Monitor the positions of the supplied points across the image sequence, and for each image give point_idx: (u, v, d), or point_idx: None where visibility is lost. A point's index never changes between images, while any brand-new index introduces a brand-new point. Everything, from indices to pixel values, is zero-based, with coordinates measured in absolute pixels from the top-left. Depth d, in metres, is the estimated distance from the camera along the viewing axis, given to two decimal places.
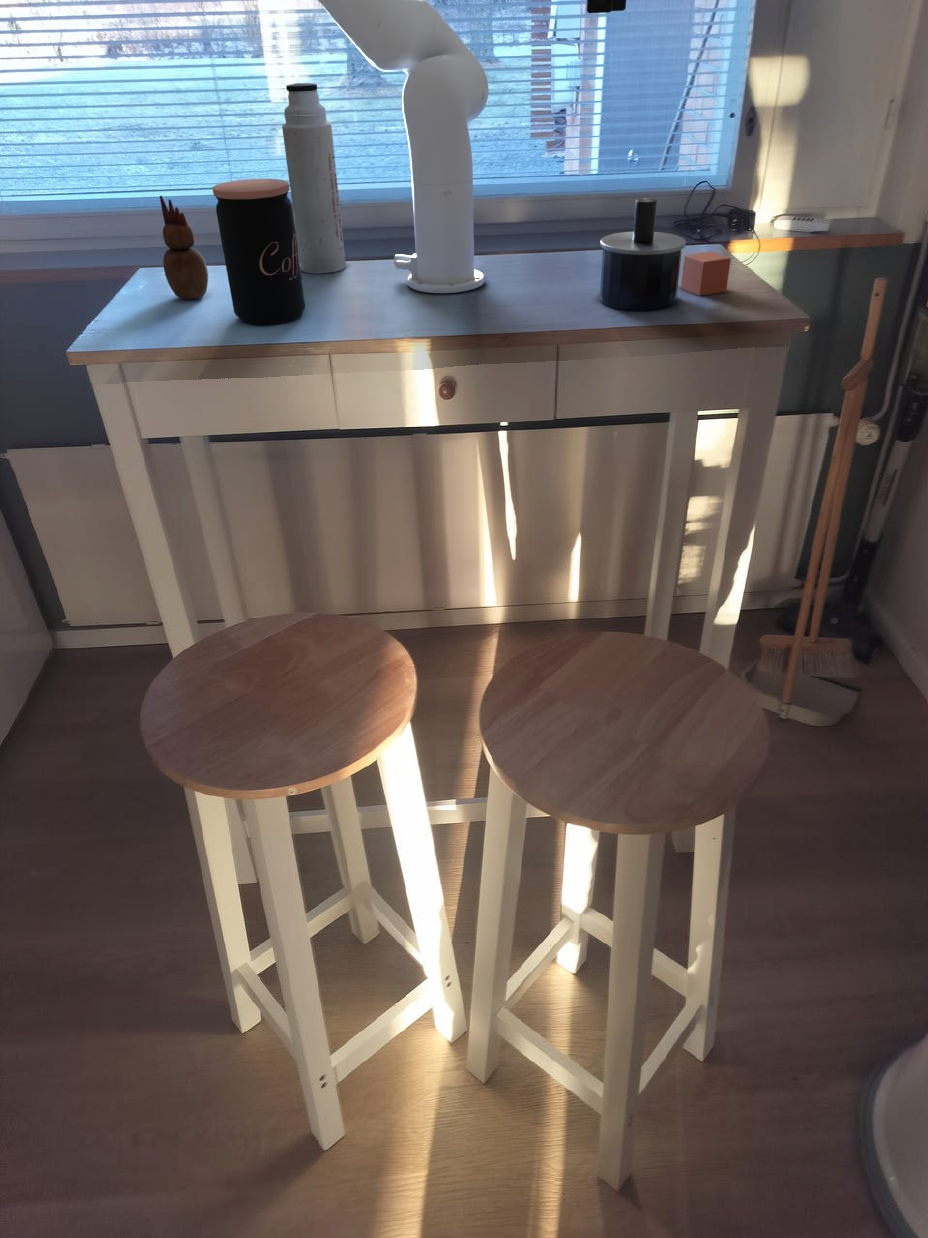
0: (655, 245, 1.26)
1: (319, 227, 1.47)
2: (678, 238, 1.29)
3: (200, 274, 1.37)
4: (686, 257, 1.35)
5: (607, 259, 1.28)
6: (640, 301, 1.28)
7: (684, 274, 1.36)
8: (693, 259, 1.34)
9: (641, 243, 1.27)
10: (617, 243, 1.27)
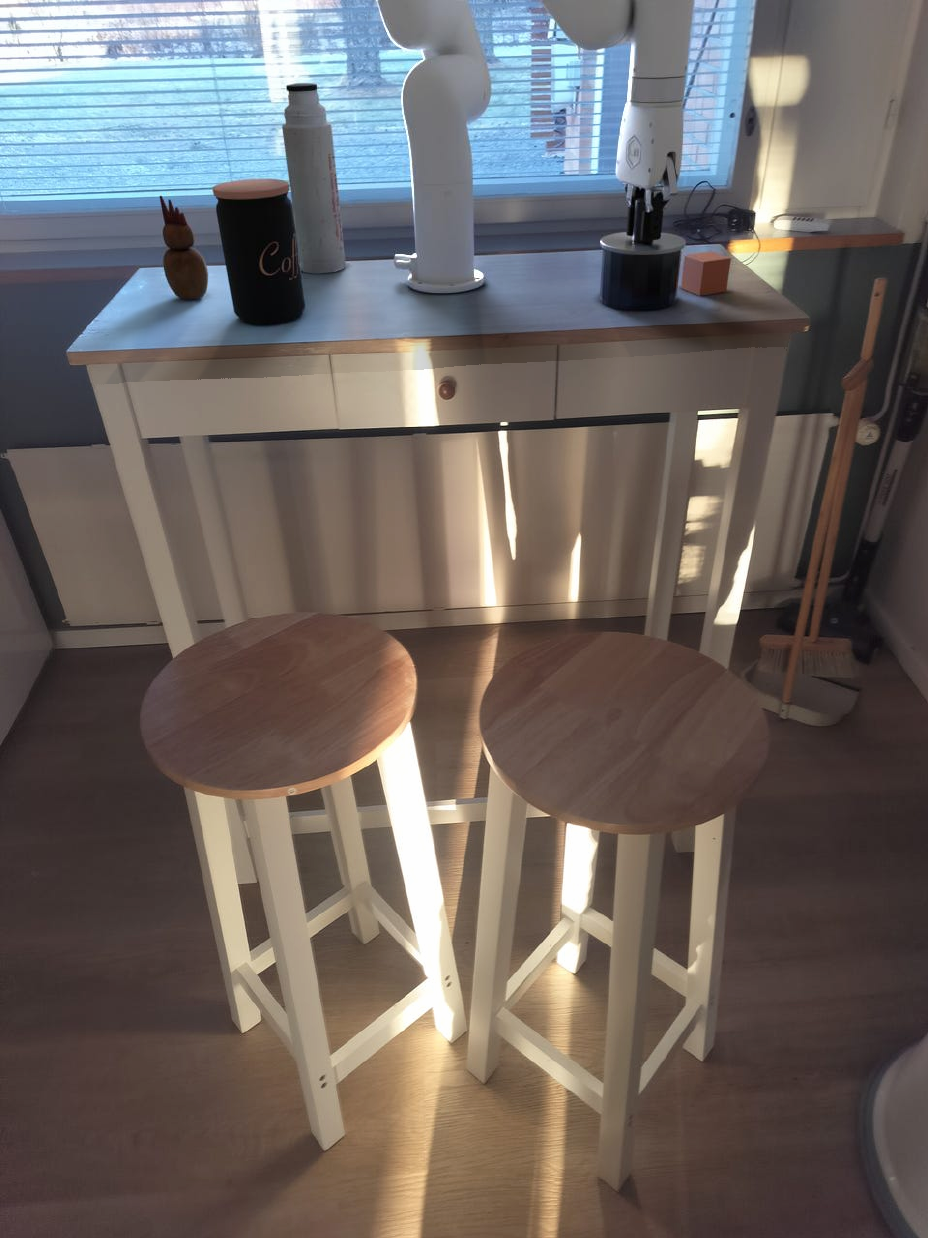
0: (655, 245, 1.26)
1: (319, 227, 1.47)
2: (678, 238, 1.29)
3: (200, 274, 1.37)
4: (686, 257, 1.35)
5: (607, 259, 1.28)
6: (640, 301, 1.28)
7: (684, 274, 1.36)
8: (693, 259, 1.34)
9: (641, 243, 1.27)
10: (617, 243, 1.27)
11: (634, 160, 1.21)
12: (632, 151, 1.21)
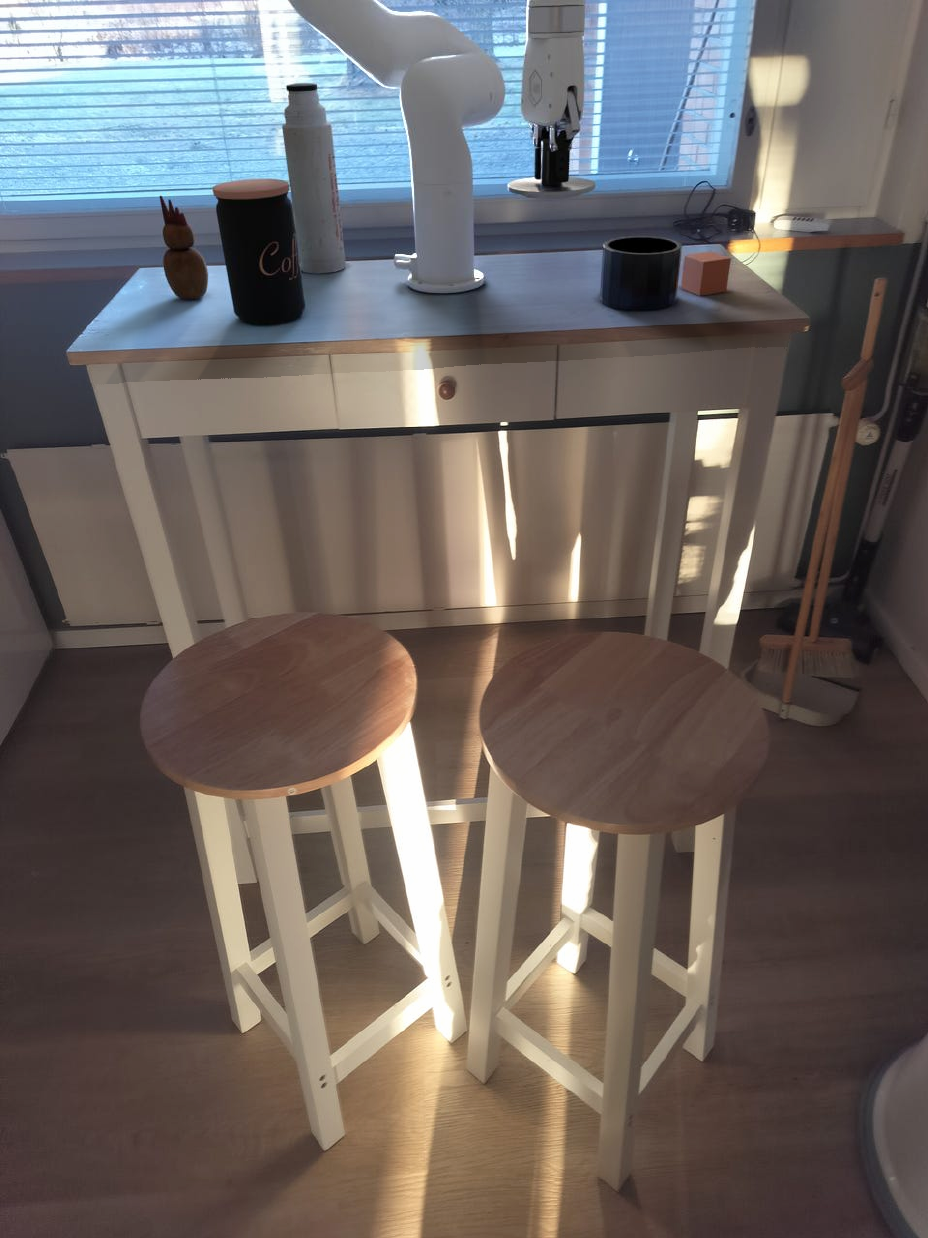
0: (562, 187, 1.21)
1: (319, 227, 1.47)
2: (588, 181, 1.24)
3: (200, 274, 1.37)
4: (686, 257, 1.35)
5: (607, 259, 1.28)
6: (640, 301, 1.28)
7: (684, 274, 1.36)
8: (693, 259, 1.34)
9: (548, 186, 1.22)
10: (524, 186, 1.22)
11: (536, 96, 1.16)
12: (534, 87, 1.16)
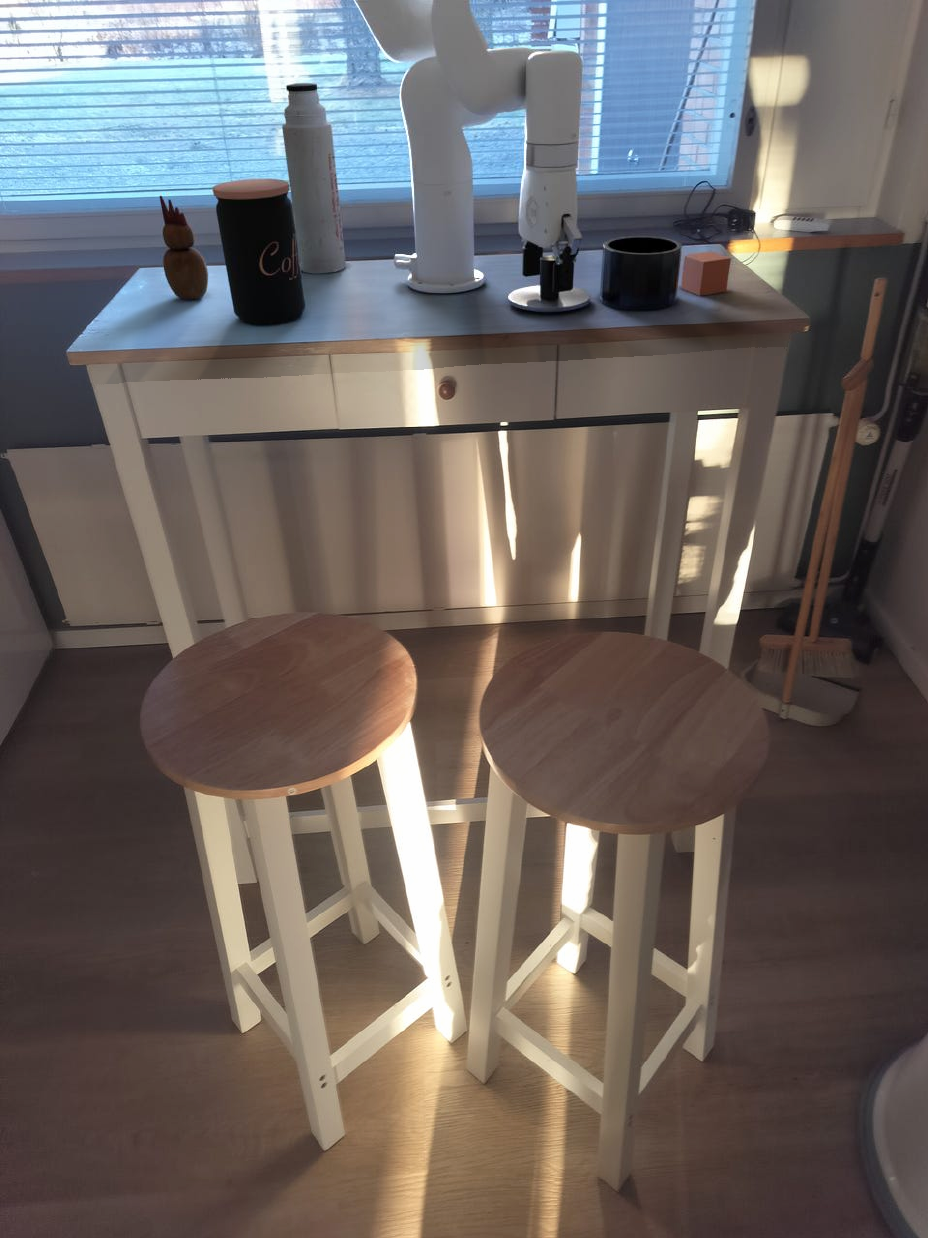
0: (559, 301, 1.30)
1: (319, 227, 1.47)
2: (584, 293, 1.33)
3: (200, 274, 1.37)
4: (686, 257, 1.35)
5: (607, 259, 1.28)
6: (640, 301, 1.28)
7: (684, 274, 1.36)
8: (693, 259, 1.34)
9: (546, 299, 1.31)
10: (523, 299, 1.31)
11: (533, 220, 1.25)
12: (531, 211, 1.25)
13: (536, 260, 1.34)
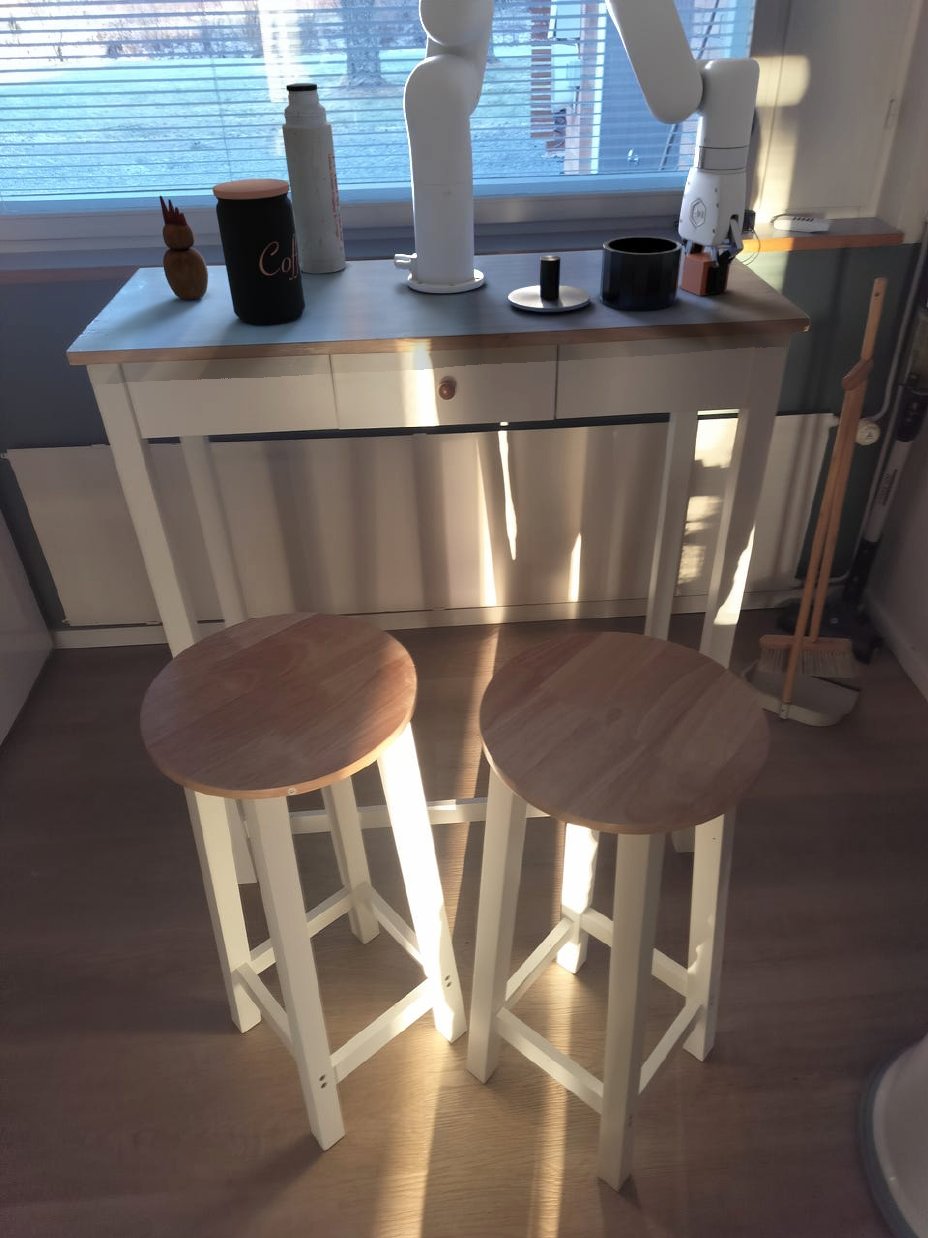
0: (559, 301, 1.30)
1: (319, 227, 1.47)
2: (584, 293, 1.33)
3: (200, 274, 1.37)
4: (686, 257, 1.35)
5: (607, 259, 1.28)
6: (640, 301, 1.28)
7: (684, 274, 1.36)
8: (693, 259, 1.34)
9: (546, 299, 1.31)
10: (523, 299, 1.31)
11: (698, 220, 1.30)
12: (696, 212, 1.30)
13: None
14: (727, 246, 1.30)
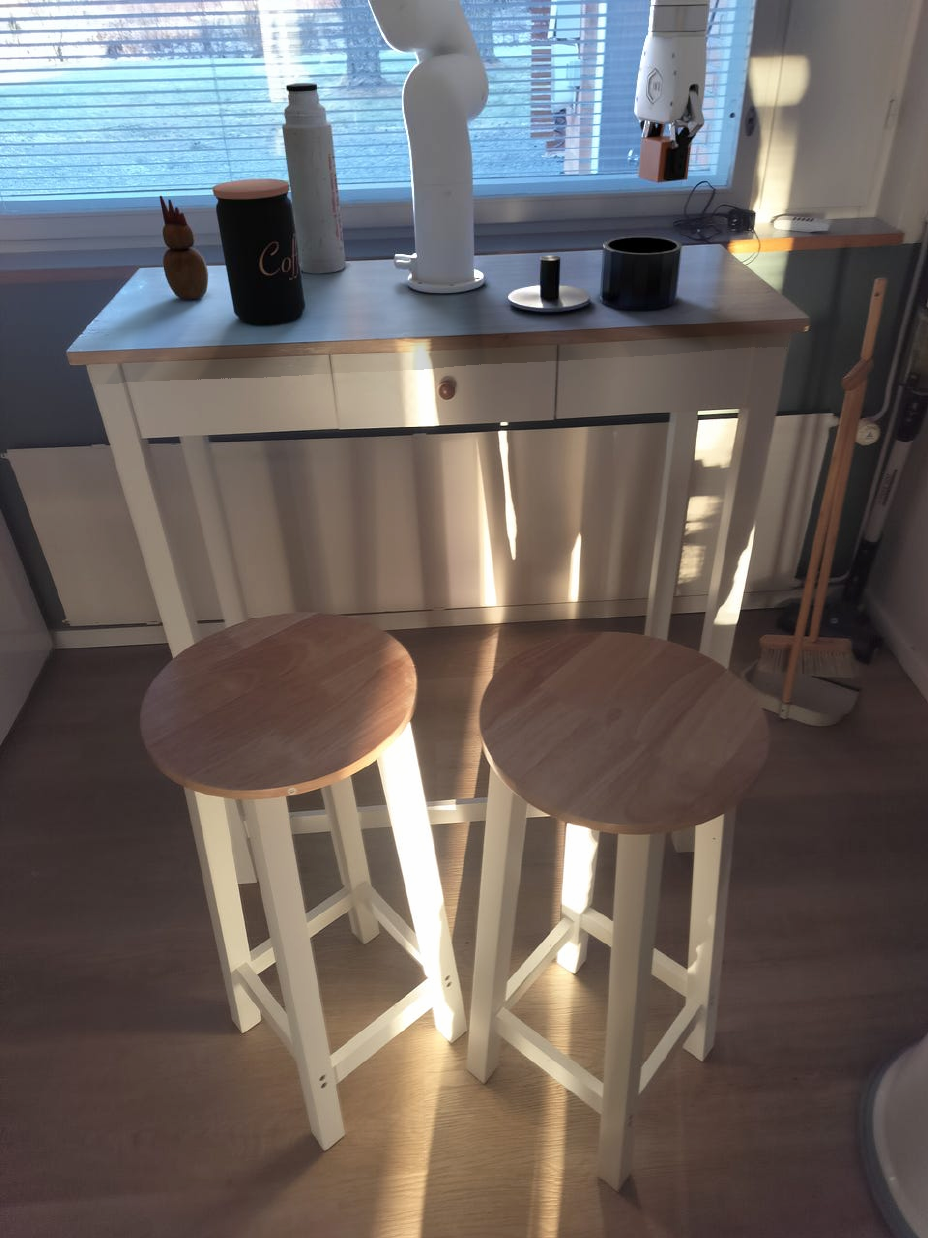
0: (559, 301, 1.30)
1: (319, 227, 1.47)
2: (584, 293, 1.33)
3: (200, 274, 1.37)
4: (643, 140, 1.22)
5: (607, 259, 1.28)
6: (640, 301, 1.28)
7: (641, 160, 1.24)
8: (650, 141, 1.21)
9: (546, 299, 1.31)
10: (523, 299, 1.31)
11: (655, 94, 1.17)
12: (653, 85, 1.17)
13: None
14: (687, 124, 1.18)
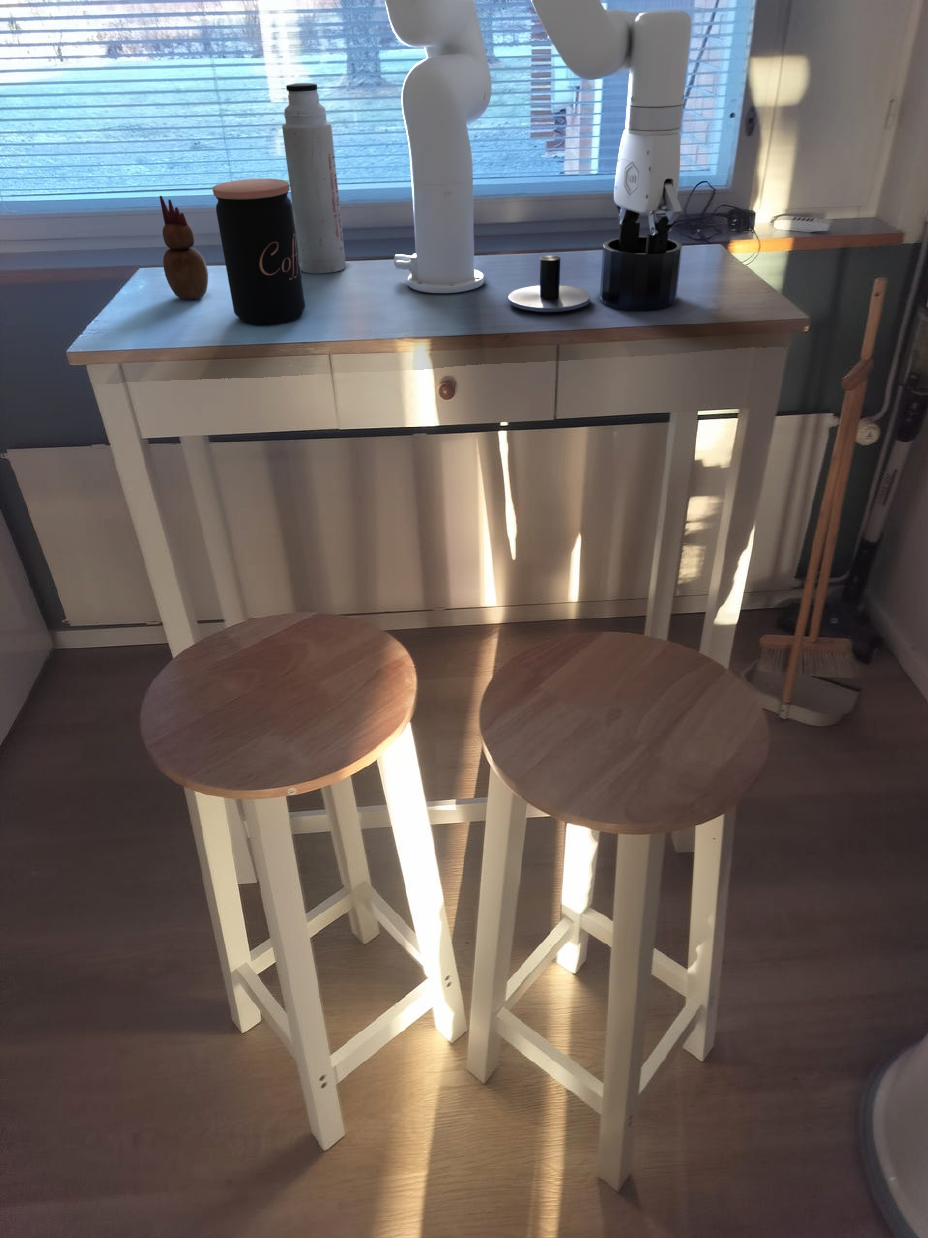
0: (559, 301, 1.30)
1: (319, 227, 1.47)
2: (584, 293, 1.33)
3: (200, 274, 1.37)
4: None
5: (607, 259, 1.28)
6: (640, 301, 1.28)
7: None
8: None
9: (546, 299, 1.31)
10: (523, 299, 1.31)
11: (632, 186, 1.23)
12: (630, 177, 1.23)
13: (633, 236, 1.31)
14: (665, 212, 1.23)
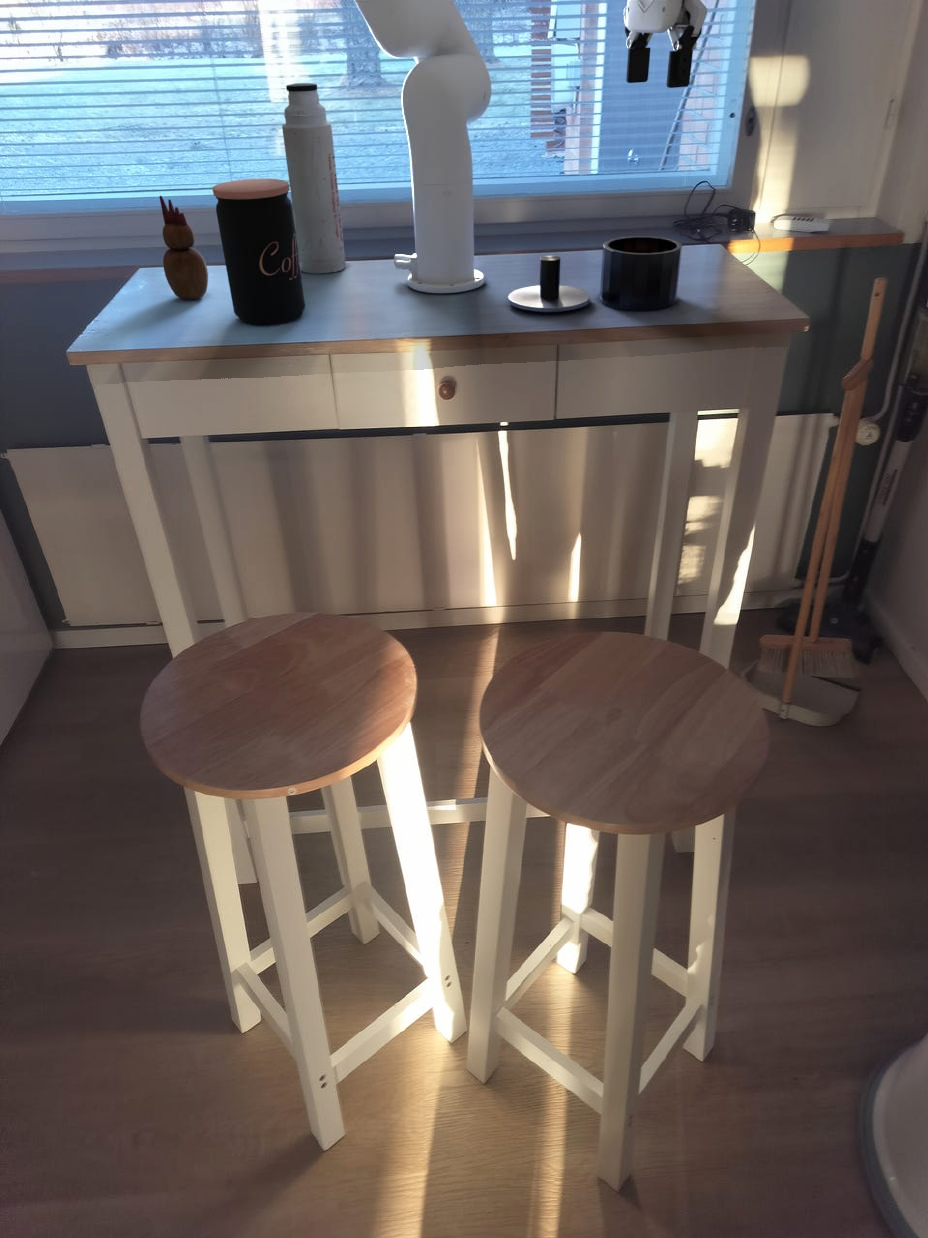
0: (559, 301, 1.30)
1: (319, 227, 1.47)
2: (584, 293, 1.33)
3: (200, 274, 1.37)
4: None
5: (607, 259, 1.28)
6: (640, 301, 1.28)
7: None
8: None
9: (546, 299, 1.31)
10: (523, 299, 1.31)
11: (647, 2, 1.10)
12: None
13: (642, 63, 1.19)
14: (687, 25, 1.10)
